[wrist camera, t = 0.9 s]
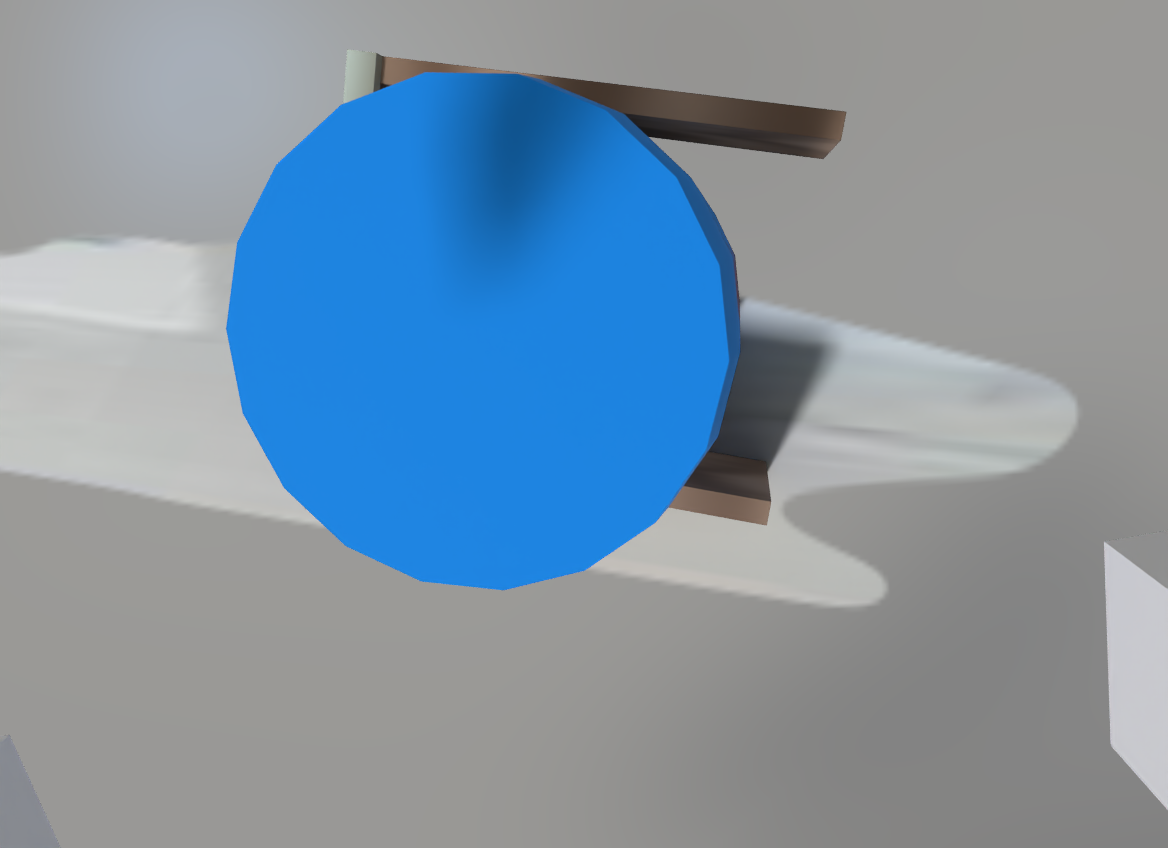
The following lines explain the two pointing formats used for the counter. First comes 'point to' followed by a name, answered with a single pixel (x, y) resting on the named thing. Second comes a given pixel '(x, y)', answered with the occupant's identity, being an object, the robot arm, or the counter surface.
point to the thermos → (483, 328)
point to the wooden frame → (682, 117)
